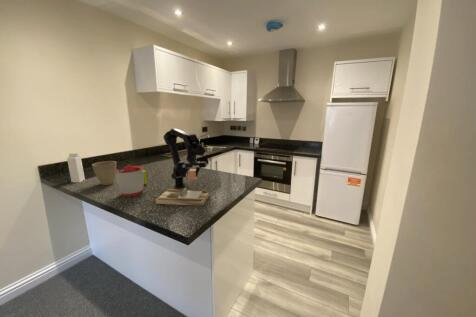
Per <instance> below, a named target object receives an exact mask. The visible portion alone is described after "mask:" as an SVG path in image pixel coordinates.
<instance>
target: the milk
mask: <svg viewBox="0 0 476 317" xmlns="http://www.w3.org/2000/svg"><path fill="white" fill-rule="evenodd" d="M66 160H67V164H68V165H67V166H68V171H69V176H70V180H71V183H72V182H73V183H81V182H84V181H85V173H84V167H83V162H82V157H81V155H78V153H69V154H68V157H67V158H66ZM83 180H84V181H83Z"/></svg>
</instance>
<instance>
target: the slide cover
mask: <svg viewBox="0 0 476 317" xmlns="http://www.w3.org/2000/svg"><path fill="white" fill-rule="evenodd" d="M181 190H182V191H181V192H180V197H179V198H185V199H198V198H199V196H200V195H201V194H202V191H187V190H188V187H184V188H182V189H181Z"/></svg>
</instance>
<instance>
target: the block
mask: <svg viewBox="0 0 476 317" xmlns="http://www.w3.org/2000/svg"><path fill="white" fill-rule="evenodd" d="M198 177H199V175H198V176H197V177H196V168H189V170H188V175H187V180H189V181H196V180H197V179H198Z"/></svg>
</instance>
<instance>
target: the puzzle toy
mask: <svg viewBox="0 0 476 317" xmlns="http://www.w3.org/2000/svg"><path fill="white" fill-rule="evenodd" d="M143 176H144V185H148V179H147V171H146V170H144V169H143Z"/></svg>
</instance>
